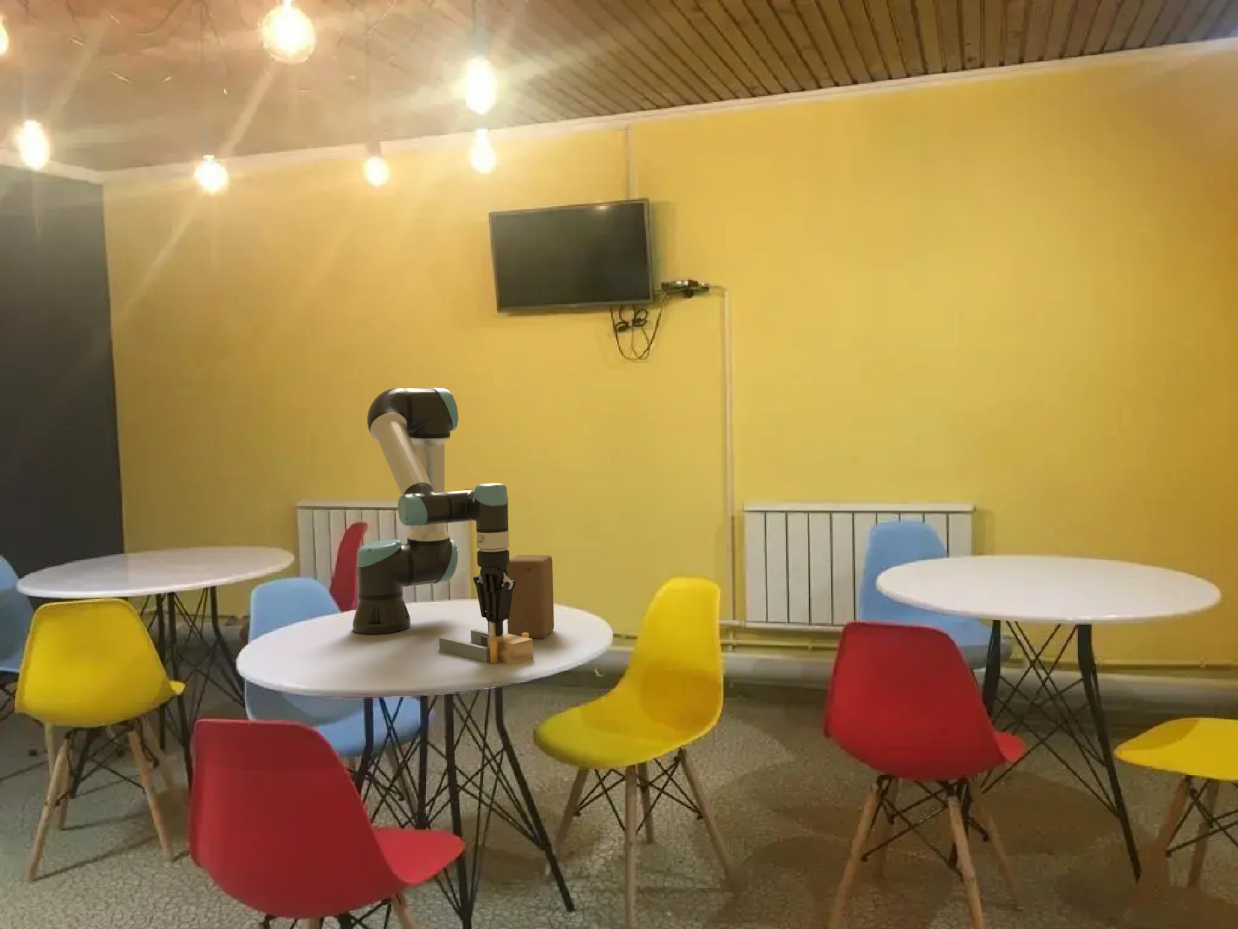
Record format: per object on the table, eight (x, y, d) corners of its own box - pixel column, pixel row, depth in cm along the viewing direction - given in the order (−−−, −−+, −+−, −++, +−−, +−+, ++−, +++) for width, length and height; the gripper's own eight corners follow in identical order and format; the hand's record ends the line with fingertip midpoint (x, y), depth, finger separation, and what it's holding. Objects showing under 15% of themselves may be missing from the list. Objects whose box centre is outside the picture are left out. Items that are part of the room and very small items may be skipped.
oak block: (488, 659, 214) (487, 638, 213) (507, 654, 218) (507, 633, 218) (513, 666, 208) (512, 644, 207) (533, 660, 212) (532, 639, 212)
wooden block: (544, 639, 231) (542, 560, 229) (506, 638, 233) (504, 560, 231) (555, 630, 240) (553, 554, 239) (518, 629, 242) (516, 554, 241)
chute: (438, 650, 223) (438, 629, 222) (475, 641, 231) (474, 621, 230) (493, 664, 208) (492, 642, 208) (530, 654, 217) (530, 633, 216)
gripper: (463, 548, 217) (466, 647, 218) (498, 553, 208) (501, 656, 209) (488, 545, 222) (491, 641, 224) (523, 549, 213) (526, 649, 215)
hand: (496, 648), depth 216 cm, fingers closed
